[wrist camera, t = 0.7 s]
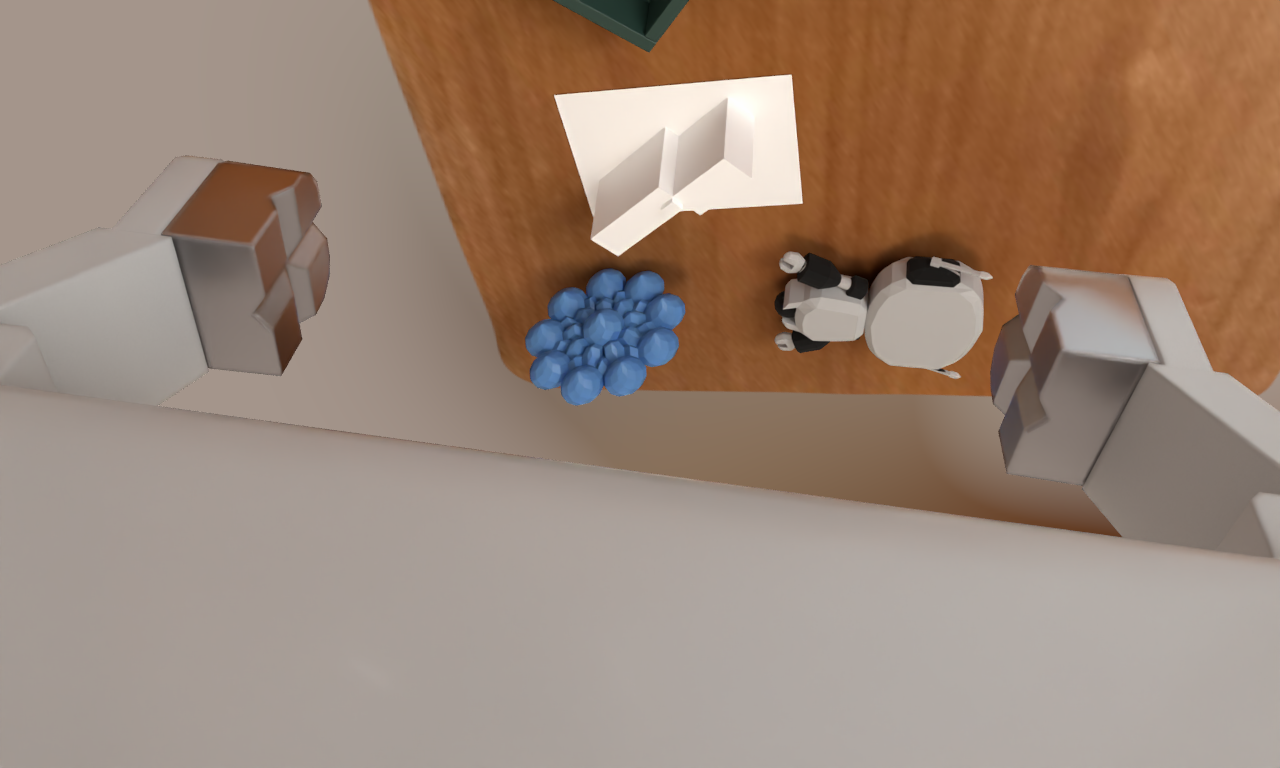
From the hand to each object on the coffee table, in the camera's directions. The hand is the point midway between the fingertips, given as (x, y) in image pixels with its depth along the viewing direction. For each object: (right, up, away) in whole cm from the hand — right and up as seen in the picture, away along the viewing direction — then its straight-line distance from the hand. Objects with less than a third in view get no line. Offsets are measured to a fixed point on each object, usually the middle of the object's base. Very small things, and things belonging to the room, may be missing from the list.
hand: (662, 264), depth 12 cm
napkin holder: (+3, +14, +57) cm, 59 cm away
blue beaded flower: (-2, +7, +69) cm, 69 cm away
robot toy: (+17, +6, +67) cm, 69 cm away
